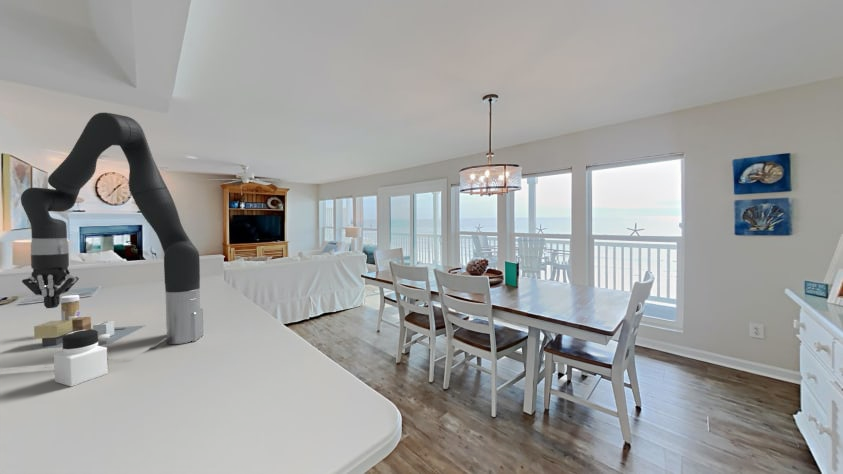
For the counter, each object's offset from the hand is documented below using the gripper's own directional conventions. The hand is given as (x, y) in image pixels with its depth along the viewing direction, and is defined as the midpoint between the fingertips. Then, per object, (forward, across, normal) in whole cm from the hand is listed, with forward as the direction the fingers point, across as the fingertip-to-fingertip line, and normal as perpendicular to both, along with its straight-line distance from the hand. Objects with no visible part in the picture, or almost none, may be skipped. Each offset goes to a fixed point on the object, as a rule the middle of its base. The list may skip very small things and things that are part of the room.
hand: (51, 307), depth 96 cm
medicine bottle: (+13, -24, +25) cm, 37 cm away
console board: (+13, -7, -5) cm, 16 cm away
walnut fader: (+12, 0, -11) cm, 16 cm away
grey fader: (+12, -11, -3) cm, 16 cm away
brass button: (+9, 0, 0) cm, 9 cm away
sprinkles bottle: (+13, +7, -16) cm, 22 cm away
